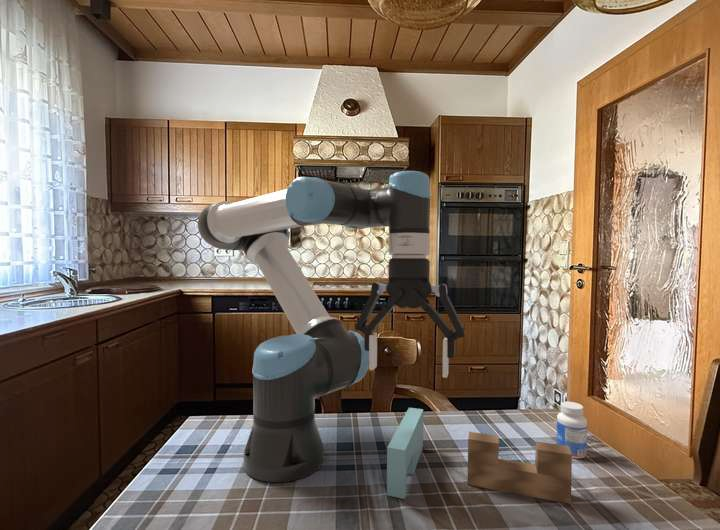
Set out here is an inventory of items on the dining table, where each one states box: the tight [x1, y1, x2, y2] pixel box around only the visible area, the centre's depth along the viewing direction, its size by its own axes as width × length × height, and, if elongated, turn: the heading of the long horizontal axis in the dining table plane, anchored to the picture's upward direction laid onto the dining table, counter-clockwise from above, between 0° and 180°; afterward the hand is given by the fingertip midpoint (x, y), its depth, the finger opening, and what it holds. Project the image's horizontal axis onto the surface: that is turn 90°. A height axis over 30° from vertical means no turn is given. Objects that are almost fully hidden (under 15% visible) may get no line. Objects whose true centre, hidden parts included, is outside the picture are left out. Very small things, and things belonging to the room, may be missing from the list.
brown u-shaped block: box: [467, 431, 573, 505], centre depth 66 cm, size 16×3×8 cm, turn 71°
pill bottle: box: [556, 401, 588, 459], centre depth 78 cm, size 6×5×10 cm
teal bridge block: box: [386, 407, 424, 500], centre depth 72 cm, size 3×18×8 cm, turn 161°
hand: (408, 371), depth 71 cm, fingers open, 13 cm apart
